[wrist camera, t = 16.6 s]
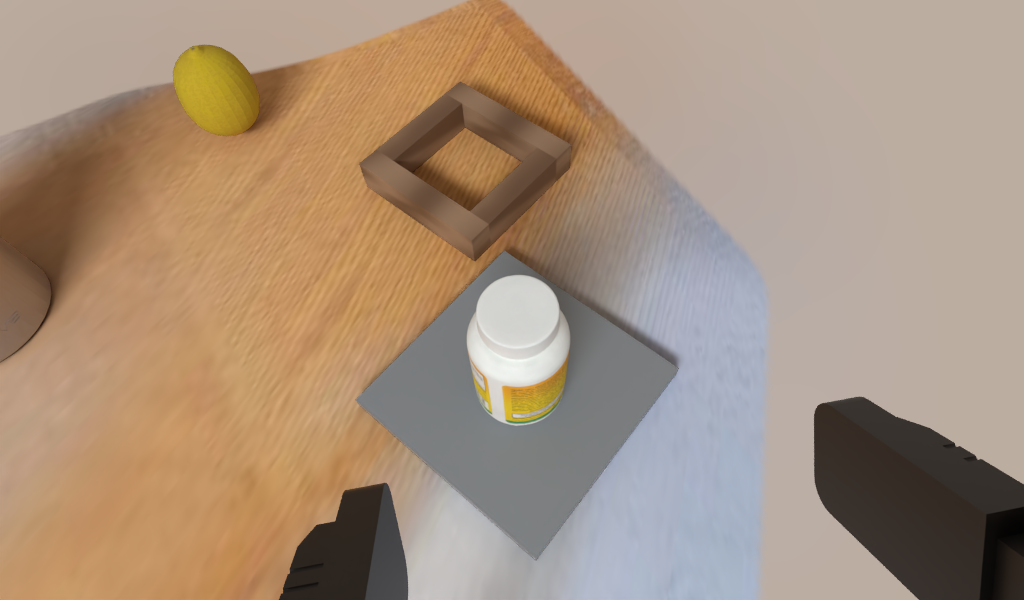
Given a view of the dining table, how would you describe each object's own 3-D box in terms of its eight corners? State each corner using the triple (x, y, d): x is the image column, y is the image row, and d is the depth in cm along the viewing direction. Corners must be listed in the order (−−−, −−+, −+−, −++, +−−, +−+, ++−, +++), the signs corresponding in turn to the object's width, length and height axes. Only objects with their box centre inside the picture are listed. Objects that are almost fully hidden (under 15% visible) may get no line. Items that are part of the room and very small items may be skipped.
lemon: (209, 112, 51) (158, 28, 45) (275, 104, 52) (235, 19, 45) (202, 161, 49) (147, 79, 42) (272, 152, 49) (229, 69, 42)
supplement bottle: (460, 403, 37) (438, 330, 29) (503, 332, 39) (494, 246, 31) (540, 444, 35) (541, 380, 27) (579, 368, 38) (592, 288, 29)
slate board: (359, 405, 38) (355, 399, 37) (504, 258, 43) (504, 250, 42) (535, 560, 33) (536, 557, 32) (675, 374, 38) (679, 368, 38)
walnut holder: (367, 186, 47) (359, 163, 45) (463, 105, 51) (460, 81, 49) (475, 261, 43) (471, 240, 41) (569, 168, 47) (571, 144, 45)
